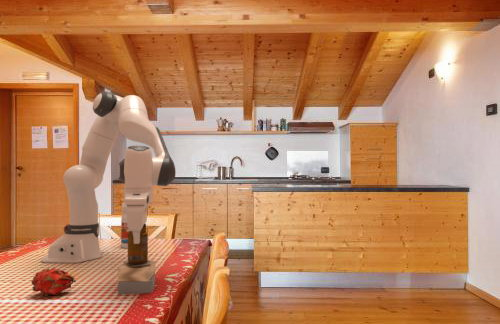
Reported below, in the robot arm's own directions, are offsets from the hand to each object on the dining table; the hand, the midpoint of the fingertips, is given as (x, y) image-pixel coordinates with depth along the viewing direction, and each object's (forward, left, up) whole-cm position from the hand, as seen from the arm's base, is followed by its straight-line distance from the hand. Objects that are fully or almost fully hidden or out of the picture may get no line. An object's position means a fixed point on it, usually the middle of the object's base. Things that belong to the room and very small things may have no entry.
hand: (138, 241), depth 117 cm
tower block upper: (0, 0, -11) cm, 11 cm away
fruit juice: (-10, +65, -15) cm, 67 cm away
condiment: (0, -1, -7) cm, 7 cm away
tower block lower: (0, 0, -15) cm, 15 cm away
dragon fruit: (-24, -1, -15) cm, 28 cm away
